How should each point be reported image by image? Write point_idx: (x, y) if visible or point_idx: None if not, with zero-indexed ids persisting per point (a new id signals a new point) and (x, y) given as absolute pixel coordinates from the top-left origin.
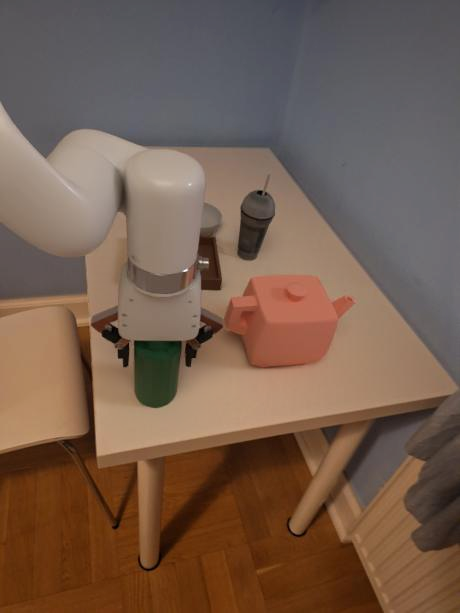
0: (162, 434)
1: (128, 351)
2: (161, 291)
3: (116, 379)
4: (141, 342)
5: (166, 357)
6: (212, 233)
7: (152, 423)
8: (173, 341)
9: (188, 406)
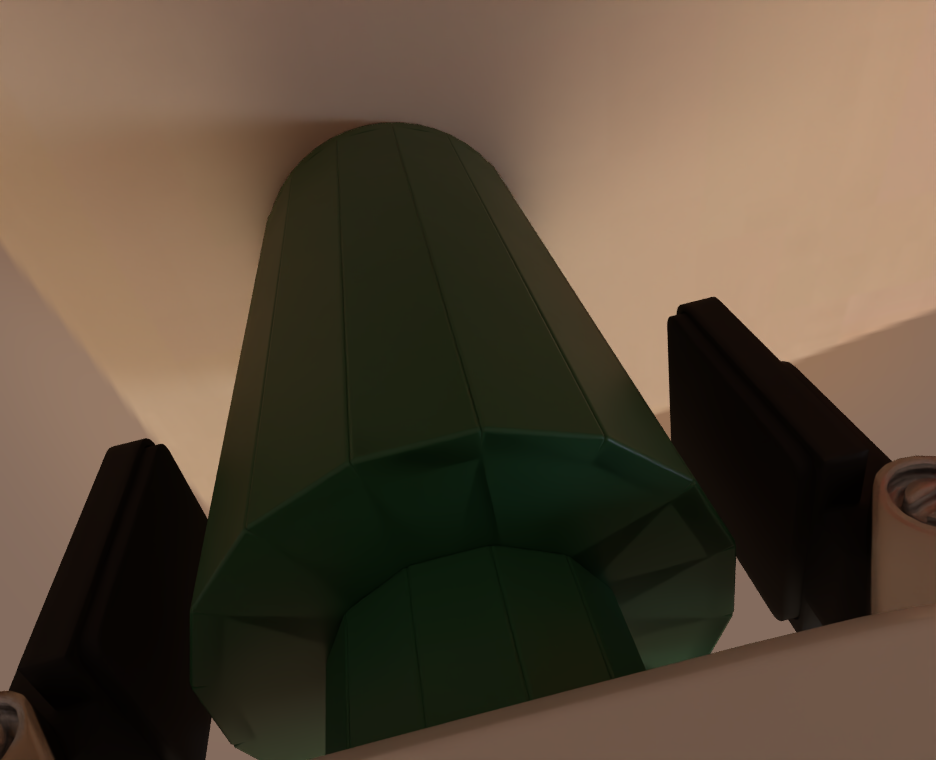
0: None
1: (188, 635)
2: None
3: (128, 234)
4: (299, 705)
5: None
6: None
7: None
8: (644, 610)
9: (593, 306)
